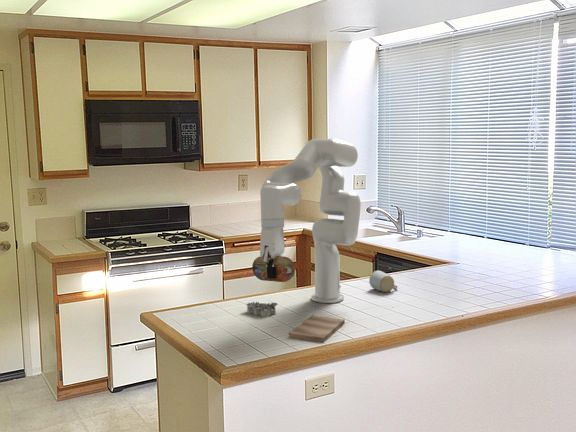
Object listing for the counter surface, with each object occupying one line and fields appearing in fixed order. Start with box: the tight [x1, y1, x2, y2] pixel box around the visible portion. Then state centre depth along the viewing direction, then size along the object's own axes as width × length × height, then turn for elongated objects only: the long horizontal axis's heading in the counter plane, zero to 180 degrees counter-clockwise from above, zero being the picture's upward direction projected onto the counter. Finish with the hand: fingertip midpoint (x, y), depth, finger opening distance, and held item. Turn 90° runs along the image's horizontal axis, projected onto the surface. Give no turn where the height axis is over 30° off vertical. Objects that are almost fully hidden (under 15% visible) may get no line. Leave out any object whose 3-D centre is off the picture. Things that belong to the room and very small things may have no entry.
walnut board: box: [288, 314, 346, 343], centre depth 210 cm, size 20×12×2 cm, turn 156°
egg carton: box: [245, 301, 278, 318], centre depth 231 cm, size 11×8×4 cm
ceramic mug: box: [368, 270, 398, 293], centre depth 259 cm, size 11×8×8 cm
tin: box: [251, 255, 296, 283], centre depth 212 cm, size 15×3×8 cm, turn 66°
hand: (274, 276), depth 213 cm, fingers closed on tin, 2 cm apart
